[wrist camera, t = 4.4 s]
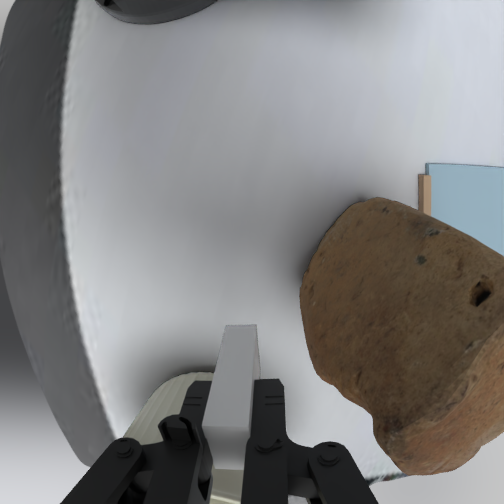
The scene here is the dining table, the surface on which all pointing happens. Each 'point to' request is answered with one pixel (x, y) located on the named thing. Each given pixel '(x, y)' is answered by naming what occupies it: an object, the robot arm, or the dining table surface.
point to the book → (466, 200)
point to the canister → (169, 403)
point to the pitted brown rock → (410, 331)
